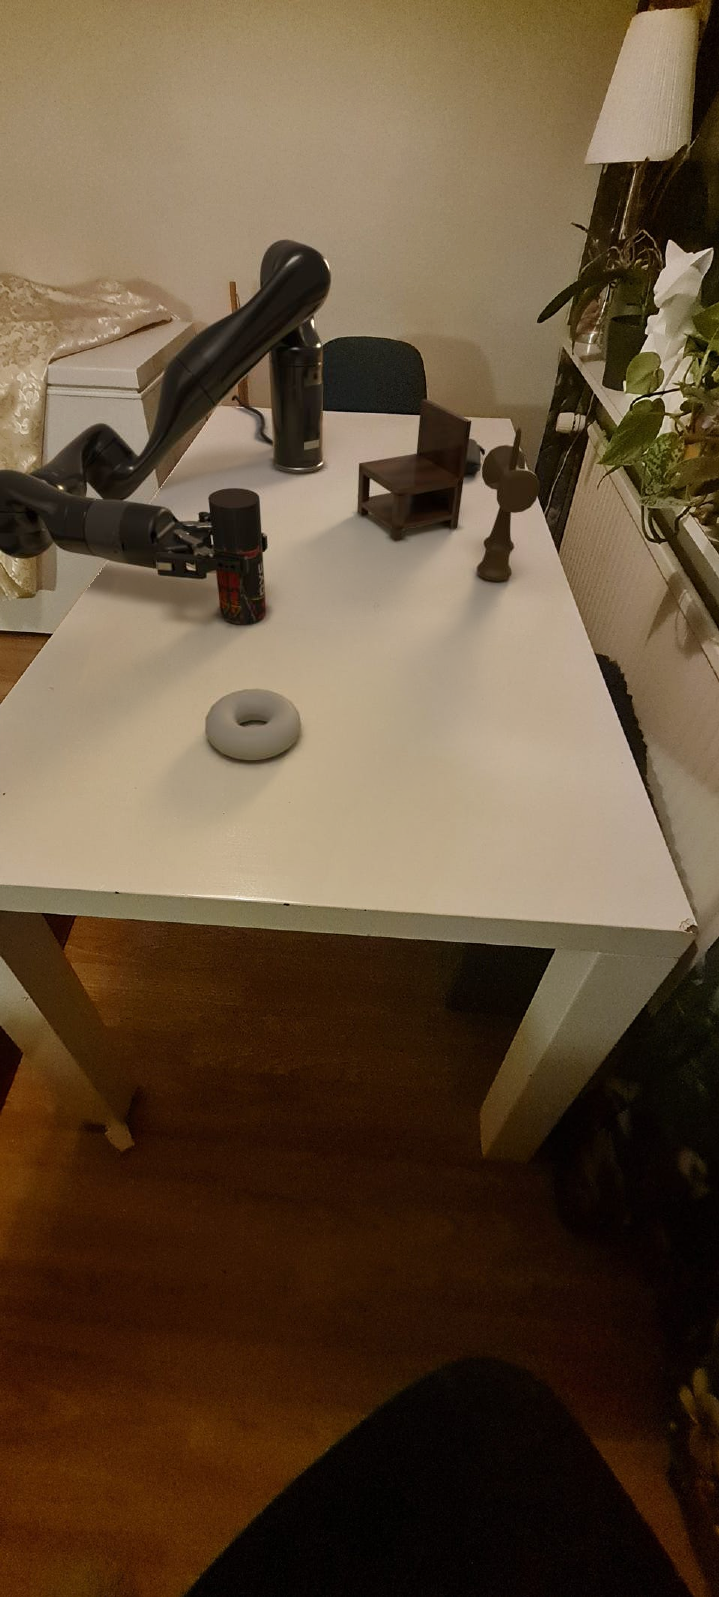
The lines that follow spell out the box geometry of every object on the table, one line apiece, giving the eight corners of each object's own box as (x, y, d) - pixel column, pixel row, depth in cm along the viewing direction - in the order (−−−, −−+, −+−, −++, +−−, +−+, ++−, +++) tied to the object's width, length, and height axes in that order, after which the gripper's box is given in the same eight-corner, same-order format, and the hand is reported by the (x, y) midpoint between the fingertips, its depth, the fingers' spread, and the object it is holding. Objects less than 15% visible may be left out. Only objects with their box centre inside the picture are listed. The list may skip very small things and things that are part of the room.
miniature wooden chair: (357, 513, 118) (360, 407, 107) (417, 501, 123) (426, 398, 111) (395, 541, 111) (403, 431, 100) (457, 527, 115) (471, 420, 104)
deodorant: (221, 601, 95) (209, 487, 84) (266, 601, 95) (259, 487, 85) (219, 624, 91) (206, 507, 80) (265, 624, 91) (259, 508, 81)
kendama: (506, 560, 107) (533, 416, 93) (521, 591, 100) (553, 440, 86) (467, 560, 107) (488, 415, 93) (479, 591, 100) (505, 439, 86)
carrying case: (485, 480, 131) (483, 453, 141) (487, 462, 129) (485, 436, 139) (427, 475, 131) (430, 449, 142) (429, 458, 129) (431, 432, 140)
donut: (278, 777, 71) (315, 719, 77) (276, 751, 68) (315, 693, 75) (189, 754, 73) (232, 698, 80) (184, 728, 70) (229, 673, 77)
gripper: (162, 538, 97) (278, 557, 94) (109, 586, 87) (237, 609, 84) (153, 482, 92) (275, 501, 89) (96, 527, 82) (232, 549, 79)
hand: (256, 554), depth 87 cm, fingers closed on deodorant, 6 cm apart
